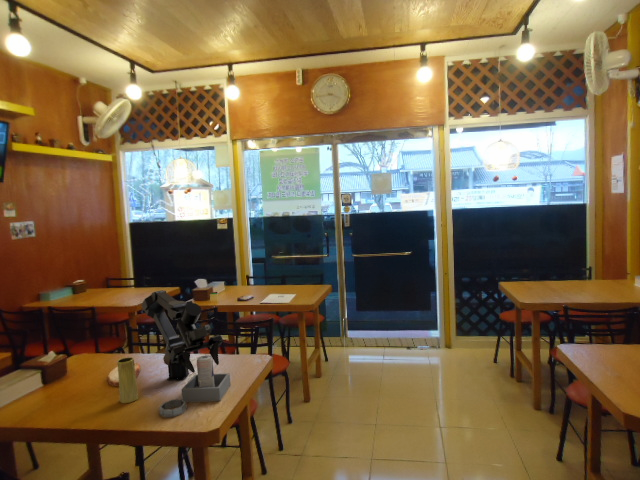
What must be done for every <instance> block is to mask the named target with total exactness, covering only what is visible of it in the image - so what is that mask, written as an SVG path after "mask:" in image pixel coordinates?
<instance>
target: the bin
mask: <svg viewBox="0 0 640 480" xmlns="http://www.w3.org/2000/svg"><path fill="white" fill-rule="evenodd" d="M214 384H215V387H208V388H199V383H198V373H197V374H195V373H194V375H193V376H192V377H191V378H190V379H189V381H187V383H186V384H185V385H184V386H183V387H182V388H181V389H180V390H181V399H182V400H184V401H185V402H186V403H198V402H199V403H200V402H201V403H202V402H204V403H206V402H221V401H222V399H223V397H224V396H225V394H226V393H227V391H228V390H229V388H230V387H231V385H232V384H231V373H230V372H228V373H226V372H225V373H214Z"/></svg>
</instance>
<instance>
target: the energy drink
mask: <svg viewBox="0 0 640 480" xmlns="http://www.w3.org/2000/svg"><path fill="white" fill-rule="evenodd" d="M213 362H214V360H213V358H212V356H211V355H209V354H208V355H207V354H206V355H205V354H204V355H201V356H199V357H197V358H196V368H197V370H196V371H197V374H198V383H199V388H208V387H215V384H214V374H215V373H214V364H213Z"/></svg>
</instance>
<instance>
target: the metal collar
mask: <svg viewBox="0 0 640 480" xmlns="http://www.w3.org/2000/svg"><path fill="white" fill-rule="evenodd" d="M174 407H175V408H174ZM187 407H188V406H187V402H185V401H184V400H182V398H180V399H171V400H168V401H164V402H163V403H162V404H161V405H160V406H159V407H158V410H159V415H160V416H161V417H163V418H174V417H177V416H180V415H182V414H184V413H185V412H186V410H187ZM171 408H172V409H171Z"/></svg>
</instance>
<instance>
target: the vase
mask: <svg viewBox="0 0 640 480" xmlns="http://www.w3.org/2000/svg"><path fill="white" fill-rule="evenodd" d="M116 363H117V366H118V375H119V387H118V390H119V402H120V403H121V404H128V403H129V404H130V403H133V402H135V401H137V400H138V399H139V398H140V397H139V393H138V385H137V384H138V383H137V378H136V374H135V366H134V364H135V359H134V357H130V356H128V357H121V358H119V359H118V360H117V361H116Z"/></svg>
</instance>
